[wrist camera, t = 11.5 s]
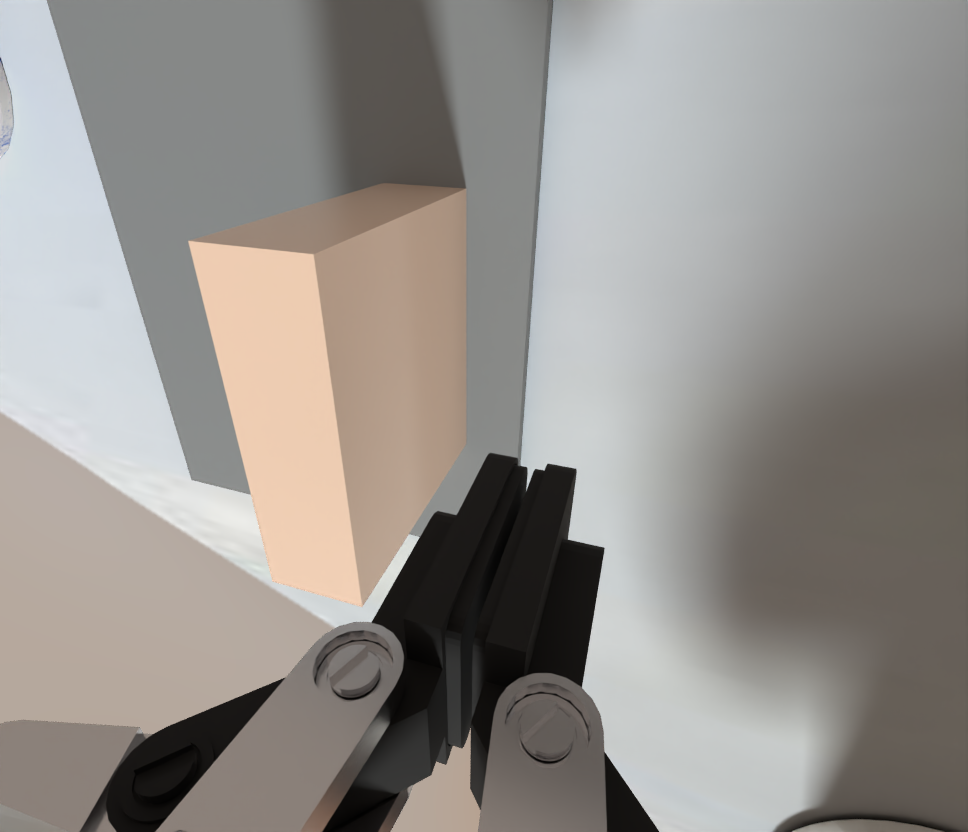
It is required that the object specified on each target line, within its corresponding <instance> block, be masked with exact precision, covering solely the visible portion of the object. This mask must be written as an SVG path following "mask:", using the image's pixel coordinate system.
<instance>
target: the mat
mask: <svg viewBox="0 0 968 832" xmlns="http://www.w3.org/2000/svg"><path fill="white" fill-rule="evenodd" d="M47 3H48V6H49V9H50V13H51V16H52V19H53V23H54V26H55V29H56V32H57V36H58V39H59V42H60V46H61V49H62V52H63V56H64V59H65V62H66V66H67V69H68V72H69V75H70V79H71V82H72V85H73V89H74V92H75V95H76V99H77V102H78V105H79V109H80V112H81V115H82V118H83V122H84V125H85V128H86V132H87V135H88V138H89V142H90V145H91V148H92V152H93V155H94V158H95V162H96V165H97V168H98V171H99V175H100V178H101V181H102V185H103V188H104V191H105V195H106V198H107V201H108V205H109V208H110V211H111V214H112V218H113V221H114V224H115V228H116V231H117V234H118V238H119V241H120V244H121V248H122V251H123V254H124V258H125V261H126V264H127V267H128V271H129V274H130V277H131V281H132V284H133V287H134V291H135V294H136V297H137V301H138V304H139V307H140V310H141V314H142V317H143V320H144V324H145V327H146V330H147V334H148V337H149V340H150V344H151V347H152V350H153V353H154V357H155V360H156V363H157V367H158V370H159V373H160V377H161V380H162V383H163V387H164V390H165V393H166V397H167V400H168V403H169V406H170V410H171V413H172V416H173V420H174V423H175V426H176V430H177V433H178V436H179V440H180V443H181V446H182V449H183V453H184V456H185V459H186V463H187V466H188V469H189V473H190V476H191V479H192V480H194V481H198V482H202V483H206V484H210V485H214V486H218V487H222V488H226V489H230V490H234V491H238V492H242V493H246V494H250V495H251V492H250V488H249V484H248V480H247V476H246V472H245V468H244V464H243V460H242V456H241V452H240V448H239V444H238V440H237V436H236V432H235V428H234V424H233V420H232V416H231V412H230V408H229V404H228V400H227V396H226V392H225V388H224V384H223V380H222V376H221V371H220V367H219V363H218V359H217V355H216V351H215V347H214V343H213V339H212V335H211V331H210V327H209V323H208V319H207V315H206V311H205V307H204V303H203V299H202V295H201V291H200V287H199V283H198V279H197V275H196V271H195V267H194V263H193V259H192V255H191V250H190V246H189V242H188V241H189V240H193V239H196V238H200V237H203V236H206V235H210V234H213V233H216V232H220V231H223V230H227V229H230V228H233V227H237V226H240V225H243V224H247V223H250V222H254V221H257V220H260V219H264V218H267V217H270V216H274V215H277V214H281V213H284V212H287V211H291V210H294V209H297V208H301V207H304V206H308V205H311V204H314V203H318V202H321V201H324V200H328V199H331V198H335V197H338V196H341V195H345V194H348V193H351V192H355V191H358V190H362V189H365V188H368V187H372V186H375V185H378V184H382V183H391V184H406V185H421V186H436V187H451V188H465V189H466V445H465V447H464V448H463V450H462V451H461V453H460V454H459V456H458V458H457V459H456V461H455V462H454V464H453V465H452V467H451V469H450V470H449V472H448V473H447V475H446V476H445V478H444V480H443V481H442V483H441V484H440V486H439V487H438V489H437V491H436V492H435V494H434V495H433V497H432V498H431V500H430V502H429V503H428V505H427V506H426V508H425V509H424V511H423V513H422V514H421V516H420V517H419V519H418V520H417V522H416V524H415V525H414V527H413V528H412V530H411V531H410V533H409V534H411V535H415V536H419V537H420V536H421V534H422V533H423V531H424V529H425V527H426V526H427V524H428V522H429V520H430V519H431V517H432V516H433V514H434V513H435V512H437V511H441V512H445V513H450V514H454V515H457V513H458V511H459V509H460V508H461V506H462V504H463V502H464V500H465V498H466V496H467V494H468V492H469V490H470V488H471V486H472V484H473V482H474V480H475V478H476V476H477V474H478V472H479V470H480V468H481V466H482V465H483V463H484V461H485V459H486V457H487V455H488V454H489V453H495V454H500V455H505V456H511V457H516V458H518V466H520V460H521V446H522V432H523V417H524V403H525V389H526V375H527V361H528V347H529V333H530V318H531V304H532V290H533V276H534V262H535V248H536V233H537V219H538V205H539V191H540V177H541V163H542V148H543V134H544V120H545V106H546V92H547V78H548V63H549V49H550V35H551V21H552V7H553V0H47Z"/></svg>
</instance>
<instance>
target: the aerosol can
mask: <svg viewBox="0 0 968 832" xmlns="http://www.w3.org/2000/svg"><path fill="white" fill-rule="evenodd" d="M12 130H13V113H12V101H11V93H10V89H9V86H8V83H7V79H6V76H5V73H4V69H3V66H2V63H1V59H0V158H1V157H2V156H3V155H4V153H5V152H6V151H7V150H8V148H9V144H10V139H11V134H12Z"/></svg>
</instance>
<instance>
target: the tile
mask: <svg viewBox="0 0 968 832" xmlns="http://www.w3.org/2000/svg"><path fill="white" fill-rule="evenodd" d="M188 242H189V246H190V250H191V255H192V259H193V263H194V267H195V271H196V275H197V279H198V283H199V287H200V291H201V295H202V299H203V303H204V307H205V311H206V315H207V319H208V323H209V327H210V331H211V335H212V339H213V343H214V347H215V351H216V355H217V359H218V363H219V367H220V371H221V376H222V380H223V384H224V388H225V392H226V396H227V400H228V404H229V408H230V412H231V416H232V420H233V424H234V428H235V432H236V436H237V440H238V444H239V448H240V452H241V456H242V460H243V464H244V468H245V472H246V476H247V480H248V484H249V488H250V492H251V497H252V501H253V505H254V509H255V513H256V517H257V521H258V525H259V529H260V533H261V537H262V541H263V545H264V549H265V553H266V557H267V561H268V565H269V569H270V573H271V577H272V581H273V582H276V583H280V584H283V585H287V586H290V587H294V588H297V589H301V590H304V591H308V592H311V593H315V594H318V595H322V596H325V597H329V598H332V599H336V600H339V601H343V602H346V603H350V604H353V605H357V606H360V607H363V605H364V603H365V602H366V600H367V599H368V597H369V596H370V594H371V593H372V591H373V589H374V588H375V586H376V585H377V583H378V582H379V580H380V578H381V577H382V575H383V574H384V572H385V571H386V569H387V567H388V566H389V564H390V563H391V561H392V560H393V558H394V556H395V555H396V553H397V552H398V550H399V549H400V547H401V545H402V544H403V542H404V541H405V539H406V538H407V536H408V534H409V533H410V531H411V530H412V528H413V527H414V525H415V524H416V522H417V520H418V519H419V517H420V516H421V514H422V513H423V511H424V509H425V508H426V506H427V505H428V503H429V502H430V500H431V498H432V497H433V495H434V494H435V492H436V491H437V489H438V487H439V486H440V484H441V483H442V481H443V480H444V478H445V476H446V475H447V473H448V472H449V470H450V469H451V467H452V465H453V464H454V462H455V461H456V459H457V458H458V456H459V454H460V453H461V451H462V450H463V448H464V447H465V445H466V189H465V188H451V187H436V186H421V185H406V184H391V183H382V184H378V185H375V186H372V187H368V188H365V189H362V190H358V191H355V192H351V193H348V194H345V195H341V196H338V197H335V198H331V199H328V200H324V201H321V202H318V203H314V204H311V205H308V206H304V207H301V208H297V209H294V210H291V211H287V212H284V213H281V214H277V215H274V216H270V217H267V218H264V219H260V220H257V221H254V222H250V223H247V224H243V225H240V226H237V227H233V228H230V229H227V230H223V231H220V232H216V233H213V234H210V235H206V236H203V237H200V238H196V239H193V240H189V241H188Z"/></svg>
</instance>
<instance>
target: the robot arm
mask: <svg viewBox="0 0 968 832" xmlns="http://www.w3.org/2000/svg"><path fill="white" fill-rule="evenodd" d="M575 480H576V469H573V468H568V467H563V466H558V465H553V464H547V466H546V468H545V471H543V470H538V469H535V470H534V472H533V475H532V478H531V481H530V483H529V486H528V489H527V491H526V485H527V467H523V466H518V458H516V457H511V456H505V455H500V454H495V453H489V454H488V455H487V457H486V459H485V461H484V463H483V465H482V466H481V468H480V470H479V472H478V474H477V476H476V478H475V480H474V482H473V484H472V486H471V488H470V490H469V492H468V494H467V496H466V498H465V500H464V502H463V504H462V506H461V508H460V509H459V511H458V513H457V515H454V514H450V513H445V512H441V511H437V512H435V513H434V514H433V516H432V517H431V519H430V520H429V522H428V524H427V526H426V527H425V529H424V531H423V533H422V534H421V536H420V538H419V540H418V542H417V543H416V545H415V547H414V549H413V550H412V552H411V554H410V556H409V557H408V559H407V561H406V563H405V564H404V566H403V568H402V570H401V572H400V573H399V575H398V577H397V579H396V580H395V582H394V584H393V586H392V587H391V589H390V591H389V593H388V595H387V596H386V598H385V600H384V602H383V603H382V605H381V607H380V609H379V610H378V612H377V614H376V616H375V617H374V619H373V621H372V623H370V622H353V623H349V624H346V625H342V626H339V627H337V628H335V629H333V630H331V631H330V632H328V633H326V634H325V635H324V636H322V638H320V639H319V640H318V641H317V642H316V643H315V644H314V645H313V646H312V647H311V648H310V649H309V651H308V652H307V653H306V654H305V655H304V657H303V658H302V659H301V660H300V661H299V663H298V664H297V665H296V666H295V667H294V668H293V670H292V671H291V672H290V673H289V674H288V676H287V677H286V678H283V679H281V680H278V681H276V682H274V683H271V684H269V685H266V686H264V687H262V688H259V689H257V690H254V691H252V692H250V693H247V694H245V695H243V696H240V697H238V698H235V699H233V700H230V701H228V702H226V703H223V704H221V705H218V706H216V707H213V708H211V709H209V710H206V711H204V712H201V713H199V714H197V715H194V716H192V717H189V718H187V719H185V720H182V721H180V722H178V723H175V724H173V725H170V726H168V727H166V728H164V729H162V730H160V731H158V732H157V733H155V734H143V732H142V730H141V729H140V727H128V726H127V727H126V726H112V725H96V724H79V723H64V722H48V721H31V720H18V721H10V722H4V723H2V724H0V832H390V831H391V830H392V828H393V826H394V824H395V822H396V820H397V819H398V817H399V815H400V813H401V811H402V809H403V807H404V806H405V804H406V802H407V800H408V798H409V795H410V793H411V790H412V787H413V785H414V784H415V783H417V782H419V781H421V780H423V779H425V778H427V777H428V776H430V775H431V774H432V771H433V768H434V766H435V763H436V761H437V762H439V763H442V764H445V765H446V764H447V760H448V758H449V755H450V751H451V749H452V746H457V747H459V748H463V747H464V745H465V743H466V740H467V737H468V734H469V730H470V728H471V779H470V781H471V782H470V789H471V791H472V793H473V795H474V797H475V799H476V801H477V804H478V806H479V808H480V810H481V813H480V820H479V829H478V832H659V831H658V829H657V828H656V826H655V825H654V823H653V822H652V820H651V819H650V817H649V816H648V815H647V813H646V812H645V810H644V809H643V807H642V806H641V804H640V803H639V801H638V800H637V799H636V797H635V796H634V794H633V793H632V791H631V790H630V788H629V787H628V785H627V784H626V782H625V781H624V780H623V778H622V777H621V775H620V774H619V772H618V771H617V769H616V768H615V766H614V765H613V764H612V762H611V761H610V759H609V758H608V756H607V755H606V753H605V752H604V732H603V726H602V721H601V716H600V713H599V711H598V709H597V707H596V705H595V703H594V702H593V700H592V698H591V697H590V696H589V695H588V694H587V693H586V692H585V691H584V690H583V689H582V683H583V677H584V671H585V665H586V658H587V652H588V646H589V640H590V634H591V628H592V622H593V616H594V610H595V604H596V598H597V592H598V585H599V579H600V573H601V567H602V561H603V555H604V548H603V547H598V546H594V545H589V544H585V543H580V542H576V541H571V540H568V533H569V526H570V518H571V510H572V503H573V495H574V488H575ZM792 832H945V831H940V830H936V829H932V828H928V827H924V826H920V825H914V824H908V823H901V822H894V821H887V820H869V819H849V820H832V821H827V822H821V823H815V824H811V825H808V826H805V827H802V828H799V829H796V830H794V831H792Z"/></svg>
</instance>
